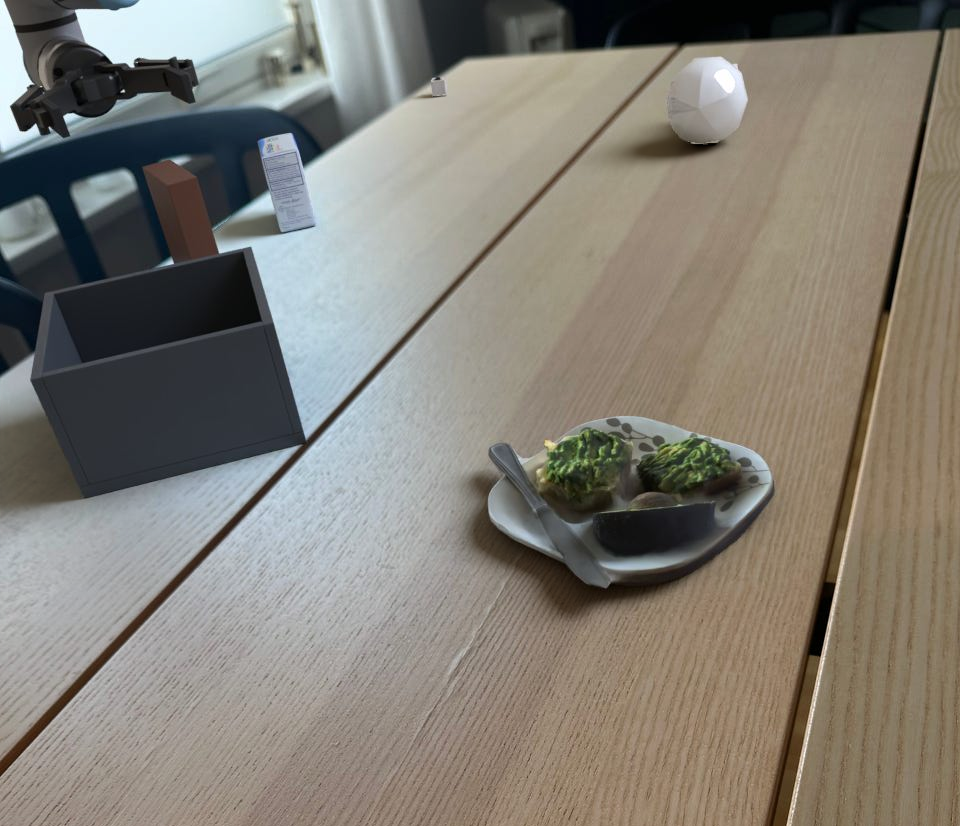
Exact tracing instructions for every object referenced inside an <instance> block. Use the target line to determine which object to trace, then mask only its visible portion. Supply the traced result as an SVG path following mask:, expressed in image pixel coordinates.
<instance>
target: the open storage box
mask: <svg viewBox="0 0 960 826" xmlns="http://www.w3.org/2000/svg"><path fill="white" fill-rule="evenodd" d="M269 305H270V304H269V302H268V298H267V295H266V292H265V287H264V285H263V282H262V278H261V275H260V271H259V268H258V264H257V261H256V257H255V254H254V251H253V247H252V246H247V247H243V248H238V249H233V250H229V251H224V252H219V254H215V255H211V256H206V257H202V258H197V259H193V260H189V261H184V262H180V263H175V264H174V263H171V264H166V265H162V266H158V267H153V268H149V269H144V270H140V271H136V272H132V273H127V274H123V275H117V276H114V277H113V276H112V277H109V278H105V279H101V280H96V281H92V282H87V283H83V284H79V285H74V286H69V287H64V288H61V289H56V290H52V291H46V292H44V296H43V301H42V308H41V312H40V313H41V314H40V320H39V326H38V330H37V331H38V332H37V338H36V342H35V349H34V354H33V355H34V356H33V361H32V367H31V373H30V379H29V381H30V383H31V385H32V387H33V390H34V392H35V395H36V396H37V398H38V401H39V404H40V405H41V407H42V409H43V411H44V413H45V416H46V419H47V421H48V423H49V425H50V427H51V429H52V431H53V433H54V436H55V438H56V441H57V442H58V444H59V447H60V449H61V451H62V453H63V456H64V458H65V460H66V462H67V464H68V467H69V468H70V470H71V473H72V476H73V477H74V479H75V482H76V484H77V486H78V489H79V490H80V492H81V495H82V497H83V499H87V498H91V497H94V496H98V495H103V494H106V493H110V492H114V491H119V490H122V489H127V488H130V487H135V486H138V485H143V484H147V483H151V482H154V481H159V480H162V479H166V478H171V477H174V476H178V475H182V474H187V473H190V472H191V473H192V472H194V471H198V470H203V469H206V468H210V467H214V466H218V465H222V464H226V463H227V464H228V463H230V462H234V461H238V460H242V459H243V460H244V459H246V458H250V457H254V456H258V455H262V454H266V453H270V452H275V451H278V450H283V449H286V448H290V447H295V446H298V445H302V444H306V443H307V439H306V434H305V431H304V428H303V423H302V421H301V420H302V419H301V416H300V413H299V409H298V405H297V401H296V397H295V395H294V391H293V388H292V383H291V379H290V377H289V373H288V369H287V366H286V362H285V358H284V355H283V351H282V348H281V344H280V341H279V337H278V333H277V329H276V326H275V322H274V319H273V315H272V312H271V308H270V306H269Z"/></svg>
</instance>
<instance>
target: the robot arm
mask: <svg viewBox="0 0 960 826" xmlns="http://www.w3.org/2000/svg"><path fill="white" fill-rule="evenodd" d="M3 2H4V5H5V7H6V9H7V11H8V14H9V17H10V20H11V22H12V26H13V28H14V30H15V36H16V38H17V40H18V43H19V46H20V48H21V51H22V63H23V67H24V70H25V72H26V74H27V76H28V78H29V80H30V81H31V84H28V86H26V91H25V92H24V93H23V94H22V95H20V96H19V97H18V98H17V99H16V100H14V102H12V103H11V104H10V105H9V108H10V111H11V113H12V116H13V118H14V121H15V123H16V126H17V128H18V131H19V132H21V133H22V132H23V133H26V132H29V130H31V129H32V128H33V127H34V126H35V125H36V127H37V130H38V132H39V136H43V137H44V136H48V135H51V134H52V133H51V130H52V131H54V132H55V134H57V135H58V136H60V137H61V138H62V139H66V138H69V137H71V133H70V131H69V128H68V125H67V123H66V120H65V116H66V115H69V114H74V115H76V116H79V117H81V118H86V119H94V118H95V119H96V118H100V117H102V116H104V115H106V114H108V113H109V112H110V111H111V110H112V109H113V108H114V107H115V105H116V104H117V102H118V101H125V100H131V99H133V98H136V97H137V96H138V95H142V94H156V93H157V94H158V93H170V95H171V96H173V97H174V98H177V99H178V100H181V101H182V102H183V103H184V102H185V103H186V104H188V105H190V104H195V103H196V98H195V94H194V92H193V89H194V88H195V87H197V86H199V85H200V83H199V79H198V76H197V71H196V69H195V65H194V61H193V59H190V58H185V59H178V57H177V56H172V57H170V58H168V59H148V58H145V57H136V58H135V59H133V63H132V64H133V67H131V66H130V65H129V64H128V63H127V62H120V63H117V62H116V63H113V62H112V60H111V59H110V58H109V57H108V55H106V54H105V53H104V52H102V50H100V49H98V48H96V47H94V46H92V45H90V44H88V42H86V40H85V37H84V34H83V31H82V28H81V25H80V22H79V20H78V16H77V10H78V11H79V10H110V11H113V12H114V11H119V10H121V9H127V8H132V7H133V6H135V5H137V4H138V3H139V2H140V0H3Z"/></svg>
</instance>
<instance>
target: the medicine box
mask: <svg viewBox="0 0 960 826" xmlns="http://www.w3.org/2000/svg"><path fill="white" fill-rule="evenodd" d="M294 136H295V135H294V134H293V133H291V132H288V133H281V134H277V135H271V136H267V137H264V138H261V139H259V140H257V147H258V151H259V155H260V159H261V164H262V169H263V173H264V176H265V180H266V184H267V187H268V191H269V194H270V198H271V202H272V205H273V210H274V214H275V216H276V220H277V225H278V227H279V230H280V232H281V233H288V232H292V231H297V230H302V229H306V228H310V227H315V226H317V219H316V215H315V212H314V207H313V204H312V199H311V194H310V191H309V186H308V182H307V178H306V175H305V170H304V167H303V162H302V158H301V154H300V150H299V148H298V145H297V141H296V139H295V137H294Z"/></svg>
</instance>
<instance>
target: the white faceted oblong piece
mask: <svg viewBox="0 0 960 826" xmlns="http://www.w3.org/2000/svg"><path fill="white" fill-rule="evenodd" d="M742 73H743V72H741V71H740V68H739V65H738V63H731V62H730V61H728V60H727V59H725V58H724V57H722V56H709V57H708V56H707V57H694V58H693V59H692V60H691V61H690V62H689V63H688V64H686V65H685V66H684V67H683V68H682V69H681V70H679V71H678V72H677V73H676V74H675V75H674V76H673V78H672V81H671V84H670V87H669V90H668V93H667V98H666V100H665V106H666V112H667V117H668V120H669V123H670V125H671V129H672V130H673V132H674V133H675V134H676V135H677V136H678V138H679V139H680V140H683V141H684V142H686V141H689V142H695V143H706V142H711V141H716V140H721V139H723V138H724V139H726V138H727V137H728V136H730V135H731V134H732V133H734V131H736V130H737V129H738V128H740V124H741V122H742V119H743V116H744V113H745V110H746V108H747V105H748V101H749V98H748V94H747V90H746V86H745V82H744V77H743V74H742ZM725 137H726V138H725ZM724 139H723V140H724Z"/></svg>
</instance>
